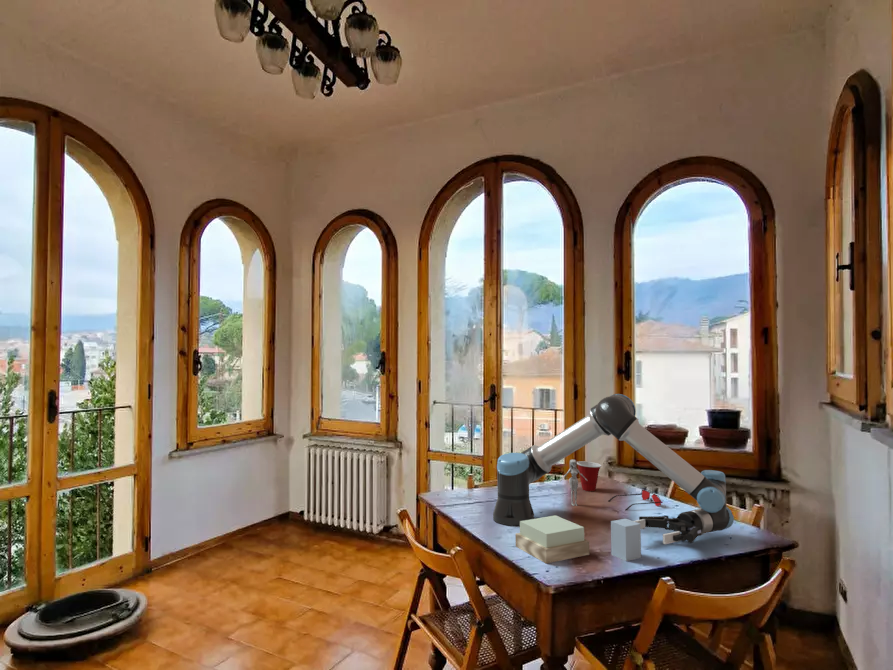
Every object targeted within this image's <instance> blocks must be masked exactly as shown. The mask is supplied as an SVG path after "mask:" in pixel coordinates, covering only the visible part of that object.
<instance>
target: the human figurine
mask: <svg viewBox="0 0 893 670" xmlns="http://www.w3.org/2000/svg"><path fill="white" fill-rule="evenodd" d="M568 474H571V477H570V478H569V479H568V483H569V486H570V491H571V492H570V500H571V503H570V504H571V506H573V507H574V506H576V507H577V506H578V504H577V503H578V502H577V498H578V497H577V495H578V487H579V481H578V480H579V479H578V477H577V475H578V474H579V476H580V475H581V476H582V477H584V476H583V474H581V473H580V472H579V469H578V467H577V460H576V459H570V460H569V469H568V471H567V472H566V473H565V474H564V475H563V477H561V478H560V480H559V482H562V481H563V479H564V478H565V477H567V475H568ZM584 478H585V477H584ZM585 479H586V478H585ZM586 480H587V479H586ZM587 481H588V480H587Z"/></svg>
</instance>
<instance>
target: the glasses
mask: <svg viewBox="0 0 893 670" xmlns="http://www.w3.org/2000/svg"><path fill="white" fill-rule="evenodd" d="M651 494H652V495H651ZM650 495H651V496H650ZM627 496H641V498H642V501H645V500H649V501H650V502H640V503H632V504H630V505H629V506H628V507H627V508H625V510H624V511H628V510H629V509H630V508H631V507H632V506H634V505H648V504H654V505H655V506H656V507H660V506H661V505H662V504H663V501H662V500H661V497H659V495H657V494H656V493H653V492H650V491H649V490H646V489H642V490H641V492H640V493H632V494H631V493H630V494H618V495H617V494H616V495H614V496H612V497H611V498H610V499H609V500H607V502H611V501H613V499H614V498H616V497H627Z"/></svg>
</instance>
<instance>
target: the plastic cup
mask: <svg viewBox="0 0 893 670" xmlns="http://www.w3.org/2000/svg"><path fill="white" fill-rule="evenodd" d="M576 466H577V469H578V470H579V472H580V473H581V474H583V476H584V477H585V478H586V479H587V480H588V481H587V480H586V479H585V478H584V477H582V476H581V475H580V474H579V480H580V484H581V489H582V491H584V490H585V492H595V491H596V489H597V483H598V479H599V472H600V470H601V467H602V464H600V463H598V462H594V461H584V460H583V461H580V460H579V461H576Z"/></svg>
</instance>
